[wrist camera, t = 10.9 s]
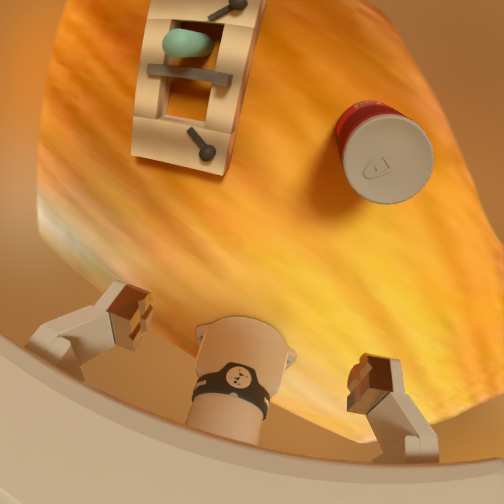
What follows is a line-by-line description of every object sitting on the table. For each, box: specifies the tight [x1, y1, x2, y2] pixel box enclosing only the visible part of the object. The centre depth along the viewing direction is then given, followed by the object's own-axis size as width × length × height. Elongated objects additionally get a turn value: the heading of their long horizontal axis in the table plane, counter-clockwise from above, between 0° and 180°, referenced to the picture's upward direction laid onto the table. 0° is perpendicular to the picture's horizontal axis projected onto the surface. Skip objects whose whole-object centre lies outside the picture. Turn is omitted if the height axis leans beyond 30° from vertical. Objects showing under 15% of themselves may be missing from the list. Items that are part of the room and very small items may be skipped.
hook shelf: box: [131, 0, 267, 176], centre depth 28 cm, size 22×12×5 cm, turn 168°
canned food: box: [336, 101, 434, 205], centre depth 27 cm, size 8×8×11 cm
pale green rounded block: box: [162, 29, 215, 58], centre depth 26 cm, size 3×3×7 cm
